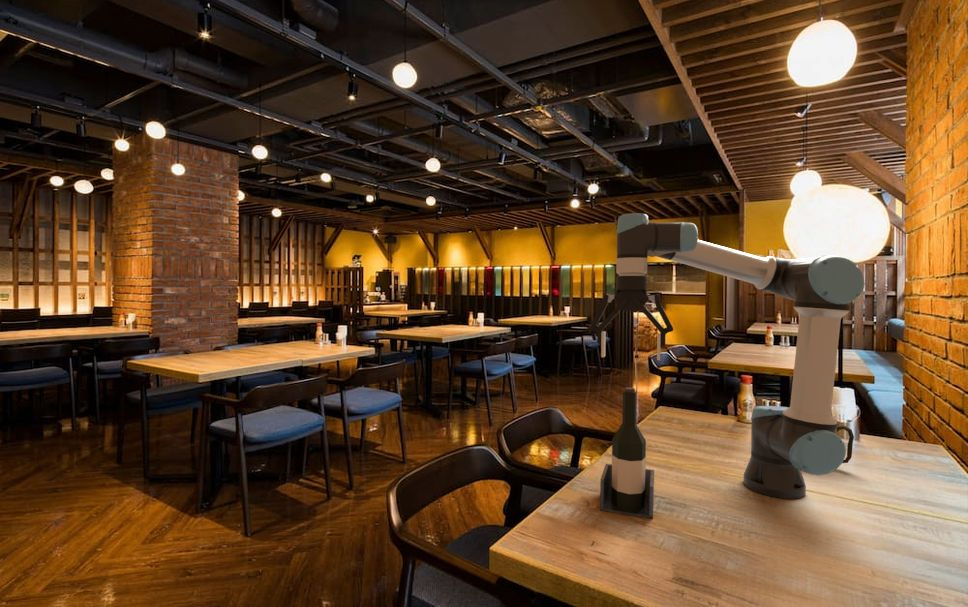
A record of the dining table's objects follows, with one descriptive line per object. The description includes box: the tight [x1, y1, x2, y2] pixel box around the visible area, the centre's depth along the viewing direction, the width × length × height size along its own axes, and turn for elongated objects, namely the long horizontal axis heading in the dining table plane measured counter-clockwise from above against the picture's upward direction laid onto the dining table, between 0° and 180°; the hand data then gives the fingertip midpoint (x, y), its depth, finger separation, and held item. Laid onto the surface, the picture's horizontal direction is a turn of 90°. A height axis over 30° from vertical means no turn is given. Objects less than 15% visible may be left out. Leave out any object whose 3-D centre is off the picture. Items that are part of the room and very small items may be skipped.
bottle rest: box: [599, 463, 655, 520], centre depth 125 cm, size 13×12×8 cm
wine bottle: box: [611, 386, 647, 511], centre depth 124 cm, size 8×8×30 cm
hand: (630, 358), depth 123 cm, fingers open, 13 cm apart
